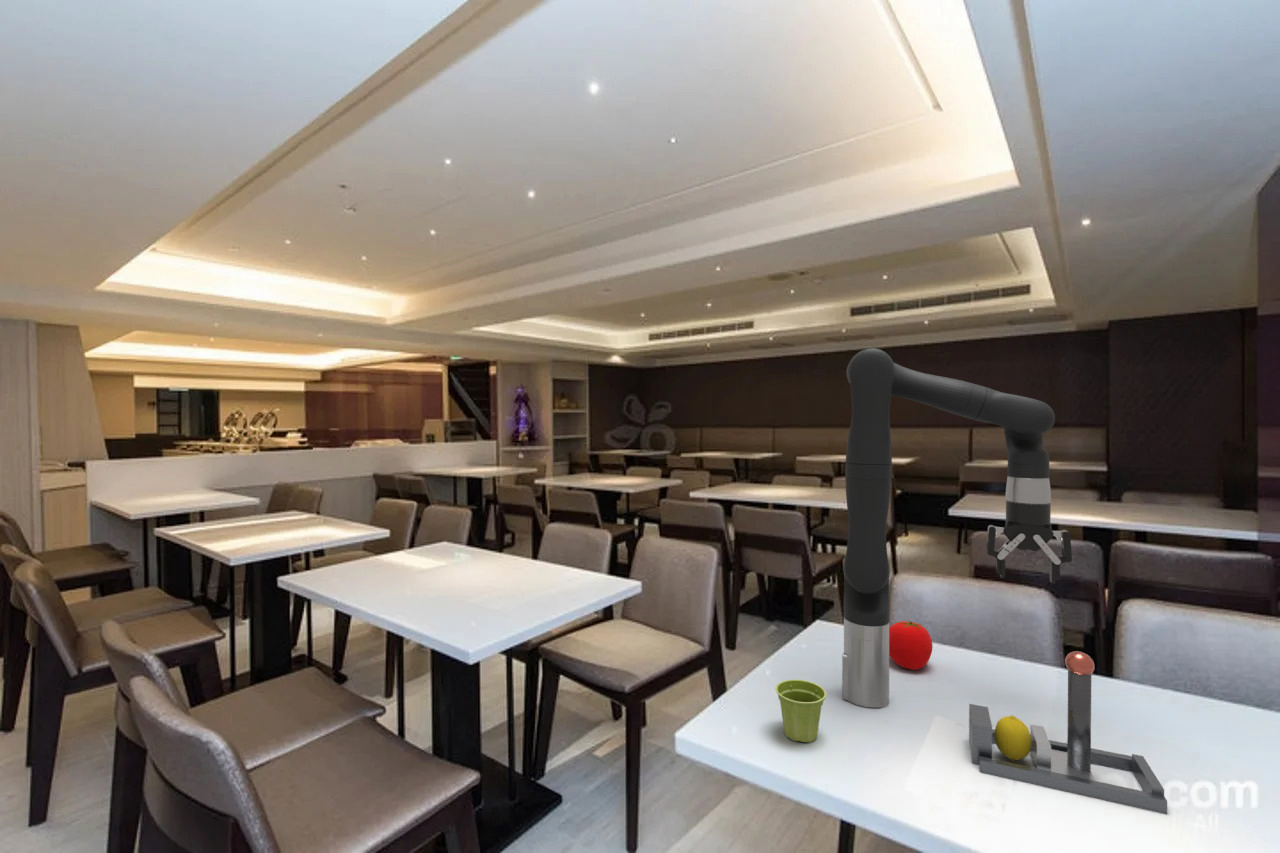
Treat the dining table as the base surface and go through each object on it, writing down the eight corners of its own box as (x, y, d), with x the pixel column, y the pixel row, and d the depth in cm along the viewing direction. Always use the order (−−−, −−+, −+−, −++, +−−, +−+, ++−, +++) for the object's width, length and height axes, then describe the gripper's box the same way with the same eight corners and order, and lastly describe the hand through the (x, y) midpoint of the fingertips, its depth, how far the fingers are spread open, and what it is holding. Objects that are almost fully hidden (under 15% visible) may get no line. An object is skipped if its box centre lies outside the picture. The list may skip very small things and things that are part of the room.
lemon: (1037, 771, 101) (1037, 725, 101) (1001, 767, 103) (1001, 722, 102) (1023, 753, 107) (1023, 709, 107) (989, 750, 108) (989, 706, 108)
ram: (1037, 775, 100) (1038, 654, 99) (1029, 751, 107) (1030, 638, 107) (1099, 789, 96) (1100, 663, 96) (1087, 763, 103) (1088, 645, 103)
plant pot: (837, 740, 112) (837, 694, 111) (800, 754, 107) (800, 706, 107) (801, 718, 120) (801, 675, 120) (765, 730, 115) (765, 686, 115)
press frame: (973, 770, 102) (973, 730, 102) (968, 734, 113) (968, 698, 113) (1167, 813, 90) (1167, 768, 90) (1140, 769, 102) (1140, 729, 102)
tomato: (892, 674, 140) (892, 628, 140) (880, 656, 150) (880, 614, 150) (939, 676, 138) (940, 630, 138) (924, 658, 149) (924, 615, 149)
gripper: (988, 499, 118) (988, 580, 119) (1075, 504, 112) (1074, 589, 112) (985, 495, 125) (984, 571, 125) (1066, 499, 119) (1066, 579, 119)
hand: (1027, 579), depth 119 cm, fingers open, 8 cm apart
